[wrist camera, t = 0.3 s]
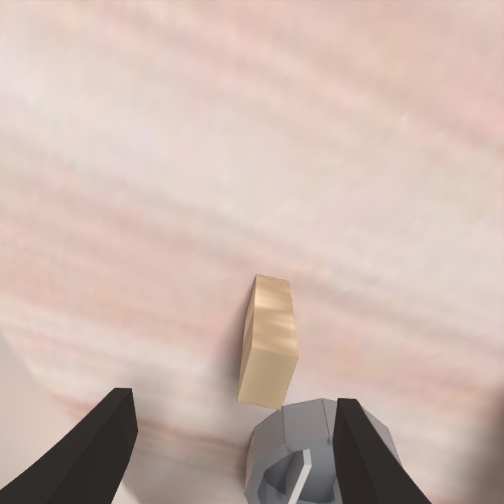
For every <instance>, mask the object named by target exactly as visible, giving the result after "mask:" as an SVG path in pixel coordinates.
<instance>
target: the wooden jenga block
mask: <svg viewBox="0 0 504 504" xmlns="http://www.w3.org/2000/svg"><path fill="white" fill-rule="evenodd" d="M298 358H299V357H298V349H297V341H296V333H295V325H294V317H293V309H292V300H291V292H290V284H289V281H285V280H281V279H276V278H272V277H267V276H263V275H258V274H257V275H256V279H255V283H254V286H253V290H252V294H251V298H250V302H249V306H248V310H247V314H246V320H245V329H244V339H243V348H242V358H241V368H240V377H239V387H238V396H237V401H238V402H243V403H248V404H253V405H258V406H263V407H267V408H272V409H277V410H281V407H282V404H283V401H284V398H285V396H286V393H287V390H288V387H289V384H290V381H291V378H292V375H293V372H294V369H295V366H296V364H297V361H298Z"/></svg>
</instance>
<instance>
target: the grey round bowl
mask: <svg viewBox="0 0 504 504" xmlns="http://www.w3.org/2000/svg"><path fill="white" fill-rule="evenodd" d="M336 408H337V401H332V400H327V399H318V400H313V401H308V402H303V403H298V404H293V405H288V406H283V407H281V410H277V411H276V412H275V413H273V414H272V415H271V416H270V417H268V418H267V419H266V420H264V421H263V422H262V423H260V424H259V425H258V426H256V427H255V430H254V433H253V436H252V439H251V442H250V446H249V449H248V452H247V461H246V477H245V496H246V498H247V500H248V503H249V504H343V502H342V498H341V493H340V489H339V485H338V480H337V476H336V469H335V462H334V454H333V445H332V438H333V431H334V423H335V416H336ZM362 408H363V407H362ZM363 410H364V412H365V413H366V415H367V417H368V418H369V420H370V421H371V423H372V425H373V426H374V428H375V429H376V431H377V432H378V434H379V435H380V437H381V438H382V440H383V441H384V443H385V444H386V445H387V447H388V448H389V450H390V451H391V452H392V454H393V455H394V457H395V458H396V459H397V461H398V462H399V463H400V465H401V466H402V464H401V462H400V459H399V456H398V454H397V451H396V448H395V446H394V443H393V440H392V438H391V435H390V432H389V429H388V428H387V427H386V426H385V425H384V424H382V423H381V422H380V421H379V420H377V419H376V418H375V417H374V416H372V415H371V414H370V413H369V412H368V411H366V410H365V409H364V408H363Z"/></svg>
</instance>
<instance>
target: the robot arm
mask: <svg viewBox="0 0 504 504" xmlns="http://www.w3.org/2000/svg"><path fill="white" fill-rule="evenodd" d="M137 434H138V427H137V420H136V414H135V407H134V400H133V393H132V388H114V389H113V390H112V391H111V392H110V393H109V394H108V395H107V396H106V397H105V398H104V399H103V400H102V401H101V402H100V403H99V404H98V405H97V406H96V407H95V408H93V409H92V410H91V411H90V412H89V413H88V414H87V415H86V416H85V417H84V418H83V419H82V420H81V421H80V422H79V423H78V424H77V425H76V426H75V427H74V428H73V429H72V430H71V431H70V432H69V433H68V434H67V435H66V436H64V438H62V439H61V440H60V441H59V442H58V443H57V444H56V445H54V446H53V447H52V448H51V449H50V450H49V451H48V452H47V453H45V454H44V455H43V456H42V457H41V458H40V459H39V460H37V461H36V462H35V463H34V464H33V465H31V466H30V467H29V468H28V469H27V470H25V471H24V472H23V473H22V474H20V475H19V476H18V477H17V478H15V479H14V480H13V481H12V482H10V483H9V484H8V485H6V486H5V487H4V488H2V489H1V490H0V504H111V503H112V500H113V498H114V496H115V493H116V491H117V489H118V487H119V484H120V482H121V479H122V477H123V475H124V472H125V470H126V468H127V465H128V463H129V460H130V457H131V454H132V450H133V447H134V444H135V440H136V437H137ZM332 445H333V454H334V462H335V469H336V476H337V480H338V485H339V489H340V493H341V498H342V502H343V504H432V503H431V502H430V501H429V500H428V499H427V497H426V496H425V495H424V494H423V493H422V491H421V490H420V489H419V488H418V487H417V485H416V484H415V483H414V482H413V480H412V479H411V478H410V476H409V475H408V474H407V473H406V471H405V470H404V469H403V467H402V466H401V465H400V463H399V462H398V461H397V459H396V458H395V457H394V455H393V454H392V452H391V451H390V450H389V448H388V447H387V445H386V444H385V443H384V441H383V440H382V438H381V437H380V435H379V434H378V432H377V431H376V429H375V428H374V426H373V425H372V423H371V421H370V420H369V418H368V417H367V415H366V413H365V412H364V410H363V408H362V407H361V405H360V403H359V402H358V401H357V400H356V399H346V398H338V401H337V408H336V416H335V423H334V431H333V438H332Z"/></svg>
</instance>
